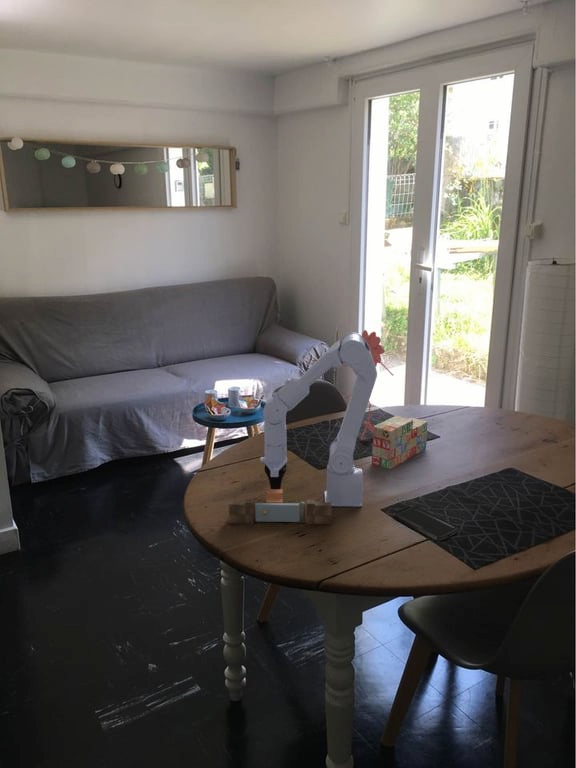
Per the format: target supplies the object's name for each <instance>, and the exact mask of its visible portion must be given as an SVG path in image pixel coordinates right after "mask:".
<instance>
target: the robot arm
mask: <svg viewBox="0 0 576 768" xmlns="http://www.w3.org/2000/svg"><path fill="white" fill-rule="evenodd" d="M344 363H345V364H347V365H348V366H347V367H349V368H351V370H352V371H353V372H354V374H355V375H356V379H355V381H354V384H353V386H352V391H351V394H350V395H351V396H349V399H348V405H347V406H346V410H345V412H344V416H343V420H342V423H341V426H340V428H339V431H338V433H337V436H336V438H335V439H334V440H333V441H332V442H331V443H330V445H329V450H328V451H329V458H328V464H327V465H326V490H324V492H323V493H324V494H323V495H324V502H331V505H332V507H360V508H361V507H362V506H363V495H364V489H363V485H364V475H363V469H362V468H359V467H356V466H355V464H354V452H355V449H356V443H357V438H358V436H359V432H360V430H361V426H362V424H363V419H364V417H365V414H366V411H367V408H368V406H369V402H370V398H371V396H372V393H373V389H374V387H375V383H376V381H377V378H378V370H377V366H376V367H375V364H374V361H373V357H372V354H371V351H370V348H369V345H368V343H367V342H366V341H365V339H364V338H363V337H362V334H360V333H357V332H348V333H346V334H345V335H344V336H343V337H342V338H341V340H340V339H339V340H337V341H336V342H335V343H333V344H332V345H331V346H330V347H329V348H328V349H326V351H325V352H323V354H322V355H321V356H320V357H319V358H318V359H317V360H316V361H315V362H314V363H313V364H312V365H311V366H310V367H309V368H308V369H307V370H306V371H305V372H304V373H303V374H302V375H301V376H293V377H292V378H291V379H290V378H289V377H288V378H287V379H286V380H285V381H284V386H283V387H281V388H280V389H279V390H278V391H277V392H276V391H274V392H273V393H272V395H271V396H270V397H269V398H268V399H267V400H266V402H265V404H264V407H263V410H262V415H263V418H264V426H263V428H264V430H263V431H264V433H263V435H264V436H263V437H264V438H263V439H264V441H263V442H264V456H260V460H259V462H260V463H264V464H265V465H264V472H265V475H266V476H267V478H268V482H269V486H270V489H282V481H283V478H284V475H285V473H286V471H287V462H288V456H287V450H288V449H287V448H288V447H287V446H288V445H287V424H286V419H287V418H286V417H287V413H288V412H290V411H292V410H293V409H294V408H295V407H296V406H297V405H298V404H299V403H300V402H301V401H302V402H303V400H304V399H305V398H306V397H307V396H308V395H309V394H310V387H311V386H312V385H313V384H314V383H315V382H316V381H318V380H319V379H320V378H321V377H322V376H323V375H324V374H326V373H327V372H328V371H329V370H330V369H331V368H336V367H339V368H340V367H344V365H345V364H344Z"/></svg>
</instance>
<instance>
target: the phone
mask: <svg viewBox="0 0 576 768" xmlns="http://www.w3.org/2000/svg"><path fill="white" fill-rule="evenodd" d="M392 516H393V518H394V519H396V520H397V521H398V522H401V523H403V524H405V525H407V526H409V527H410V528H413V529H414V530H416V531H417V532H420V533H422V534H424V535H426V536H427V537H429V538H431V539H433V540H435V541H442V540H445V539H447V538H449V537H451V536H453V535H455V534H457V533H458V532H459V527H458V526H456V525H454V524H453V523H450V522H448V521H446V520H444V519H441V518H440V517H438V516H437V515H434V514H432V513H429V512H428V511H426V510H424V509H422V508H420V507H417V506H415V505H410V506H407V507H405V508H402V509H399V510H398V511H394V512H393V515H392Z"/></svg>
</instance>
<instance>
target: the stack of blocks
mask: <svg viewBox="0 0 576 768" xmlns="http://www.w3.org/2000/svg"><path fill="white" fill-rule="evenodd" d="M372 427H373V433H372V443H371V446H372V450H371V451H372V453H371V464H372V465H374V466H378V467H381V468H384V469H387V470H391V469H392V468H394V467H396V466H398V465H400V464H401V463H404V462H405V461H407V460H408V459H410V458H411V457H413V456H415V455H417V454H419V453H421V452H422V451H424V450H426V449H427V439H428V421H426V420H423V419H418V418H414V417H409V418H406V417H401V416H398V415H394V416H393V417H390V418H388V419H386V420H384V421H383V422H380V423H377V424H376V425H375V424H374V425H373V426H372Z"/></svg>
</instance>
